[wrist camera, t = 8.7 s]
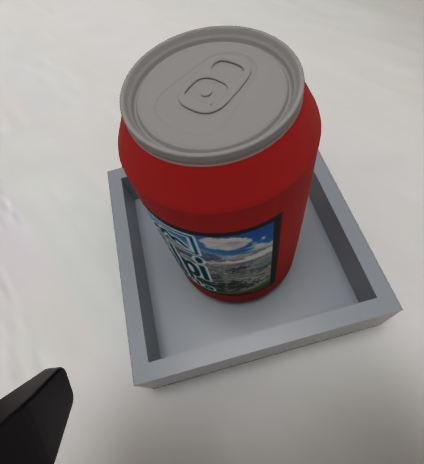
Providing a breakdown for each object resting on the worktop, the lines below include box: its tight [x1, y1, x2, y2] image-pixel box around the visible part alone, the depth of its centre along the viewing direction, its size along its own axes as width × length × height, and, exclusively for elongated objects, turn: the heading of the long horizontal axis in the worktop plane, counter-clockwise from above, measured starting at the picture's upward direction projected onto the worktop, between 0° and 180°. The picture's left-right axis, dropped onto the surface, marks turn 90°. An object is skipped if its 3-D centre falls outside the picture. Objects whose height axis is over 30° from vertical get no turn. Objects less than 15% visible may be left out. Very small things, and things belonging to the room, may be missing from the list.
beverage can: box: [118, 26, 321, 302], centre depth 15 cm, size 7×7×12 cm
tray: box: [107, 150, 403, 389], centre depth 20 cm, size 13×13×3 cm
